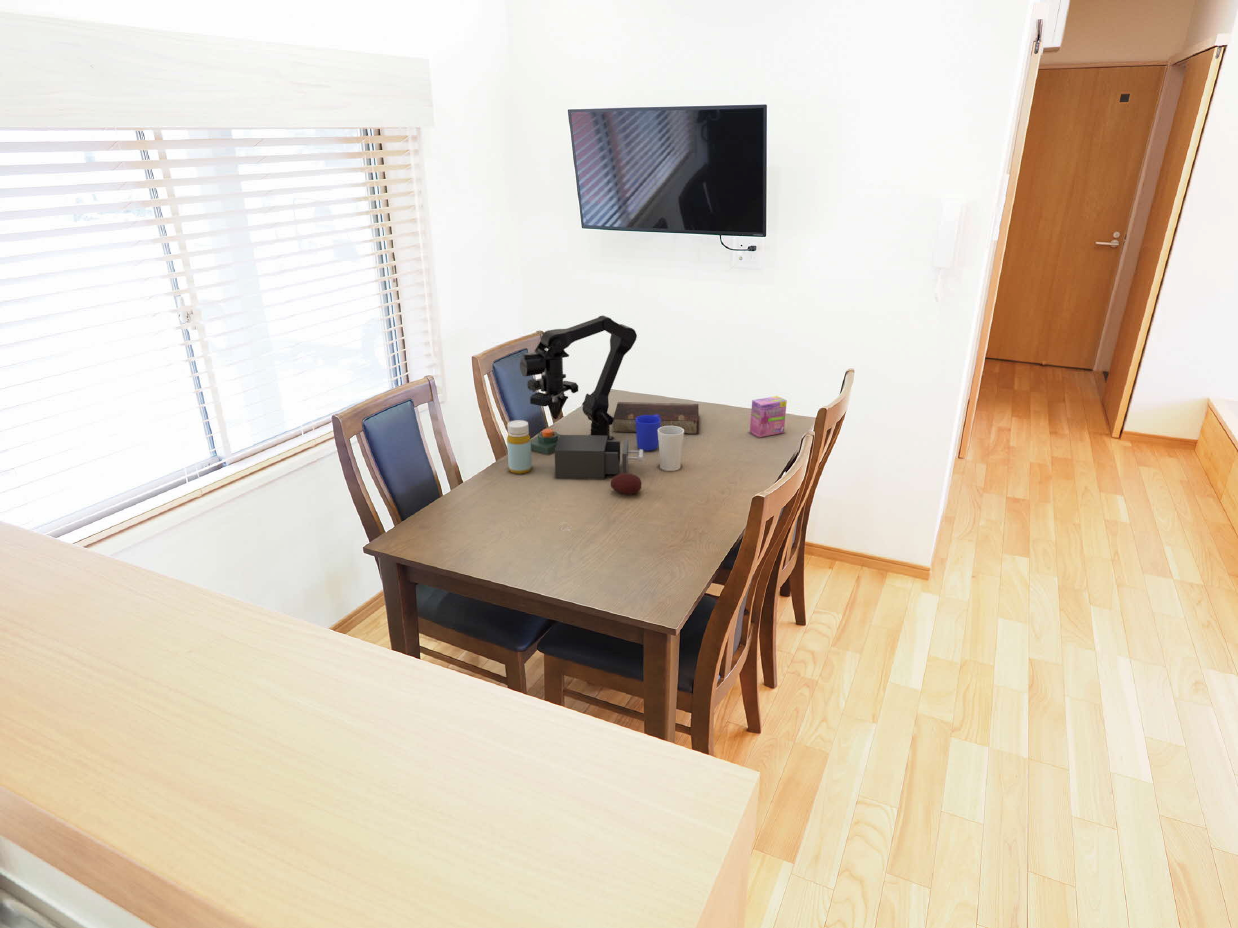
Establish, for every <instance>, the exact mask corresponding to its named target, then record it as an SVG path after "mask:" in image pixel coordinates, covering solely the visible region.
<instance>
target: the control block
mask: <svg viewBox="0 0 1238 928" xmlns="http://www.w3.org/2000/svg"><path fill="white" fill-rule="evenodd" d="M553 432H554V436H551V437H544V436H543V434H542V431H540V432H538V434H537V436H536V437H534V438H533V439H530V440H531V451H533V452H537V453H541V454H544V455H550V454H552V453H555V452H554V450H555V447H556V445H557V442H558V439H559V437H560V435H562V434H561V433H559V432H557V431H555V430H553Z"/></svg>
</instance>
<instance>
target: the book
mask: <svg viewBox="0 0 1238 928" xmlns="http://www.w3.org/2000/svg"><path fill="white" fill-rule="evenodd" d="M699 409H700V408H699V403H677V402H676V403H675V402H674V403H673V402H671V403H670V402H636V401H635V402H634V401H633V402H630V401H629V402H628V401H617V404H616V407H615V410H614V414H613V416H612V417H613V418H614V421H613V424H612V431H613V432H625V433H636V423H635V419H636V418H637V417H639V416H643V415H653V416H654V415H659V418H660V419H661V425H660V427H663V426H678V427H681V428H683V429H684V434H699V429H700V428H699V427H700V416H699V415H700V414H699Z"/></svg>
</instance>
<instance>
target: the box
mask: <svg viewBox="0 0 1238 928" xmlns="http://www.w3.org/2000/svg"><path fill="white" fill-rule="evenodd" d="M787 401H788V400H786V399H784V398H783V397H781V396H779V395H775V396H768V397H763V398H757V399H752V400H751V411H750V422H749V423H750V426H749V433H750V434H751V435H753V436H755V437H757V438H764V437H770V436H773V435H778V434H780V435H781V434H784V433H785V425H786V424H785V423H786V414H787V413H786V412H787Z"/></svg>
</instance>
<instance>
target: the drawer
mask: <svg viewBox="0 0 1238 928" xmlns="http://www.w3.org/2000/svg"><path fill="white" fill-rule="evenodd" d="M629 454H638V456H629ZM629 460H636V461H639V462H642V461H643V460H644V450H642V449H638V450H629V439H627V438H626V439H624V441H623V447H622V452H621V440H609V441H607V442H606V447H605V451H604V474H605V475H618V474H619V471H620V465H621V471H622V472H621V473H628V468H629Z"/></svg>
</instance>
